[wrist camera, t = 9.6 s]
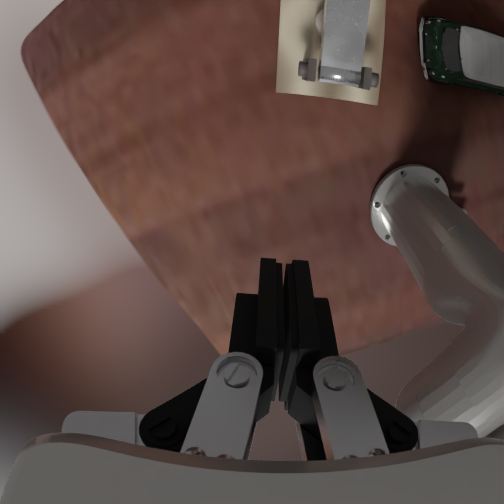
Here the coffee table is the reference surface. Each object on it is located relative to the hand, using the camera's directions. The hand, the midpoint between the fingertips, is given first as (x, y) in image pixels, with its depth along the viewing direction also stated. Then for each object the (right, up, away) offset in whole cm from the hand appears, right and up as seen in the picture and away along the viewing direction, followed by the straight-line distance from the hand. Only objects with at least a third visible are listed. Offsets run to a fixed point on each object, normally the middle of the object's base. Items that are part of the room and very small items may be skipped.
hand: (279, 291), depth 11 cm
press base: (+8, +29, +15) cm, 34 cm away
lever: (+8, +26, +9) cm, 29 cm away
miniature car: (+28, +27, +16) cm, 42 cm away
